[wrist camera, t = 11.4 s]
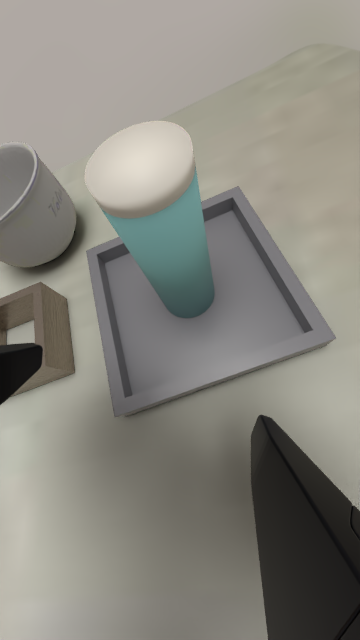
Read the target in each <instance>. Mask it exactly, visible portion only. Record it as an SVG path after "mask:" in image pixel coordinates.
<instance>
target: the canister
mask: <svg viewBox="0 0 360 640" xmlns="http://www.w3.org/2000/svg"><path fill="white" fill-rule="evenodd" d="M85 184H86V186H87V188H88V190H89V191H90V193H91V194H92V196H93V197H94V199H95V200H96V202H97V203H98V205H99V206H100V208H101V209H102V211H103V212H104V214H105V215H106V217H107V218H108V220H109V222H110V223H111V225H112V226H113V228H114V229H115V231H116V232H117V234H118V235H119V237H120V238H121V240H122V241H123V243H124V244H125V246H126V247H127V249H128V250H129V252H130V253H131V255H132V256H133V258H134V259H135V261H136V262H137V264H138V265H139V267H140V268H141V270H142V271H143V273H144V275H145V276H146V278H147V279H148V281H149V282H150V284H151V285H152V287H153V288H154V290H155V291H156V293H157V294H158V296H159V297H160V299H161V300H162V302H163V303H164V305H165V306H166V308H167V309H168V310H169V312H171V313H172V314H173V315H175V316H177V317H180V318H193V317H196V316H199V315H201V314H202V313H204V312H205V311H206V310H207V309H208V308H209V307H210V306H211V304H212V302H213V299H214V294H215V291H214V284H213V277H212V271H211V264H210V258H209V251H208V245H207V238H206V232H205V225H204V219H203V212H202V206H201V199H200V193H199V186H198V179H197V173H196V166H195V160H194V153H193V147H192V141H191V138H190V136H189V134H188V133H187V131H186V130H185V129H183V128H182V127H181V126H179V125H177V124H174V123H171V122H166V121H150V122H144V123H139V124H136V125H133V126H130V127H128V128H125V129H123V130H121V131H119V132H118V133H116V134H114V135H113V136H111V137H110V138H108V139H107V140H106V141H105V142H103V143H102V144H101V145H100V146H99V147H98V148H97V149H96V151H95V152H94V153H93V154H92V156H91V158H90V159H89V161H88V163H87V166H86V169H85Z"/></svg>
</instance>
